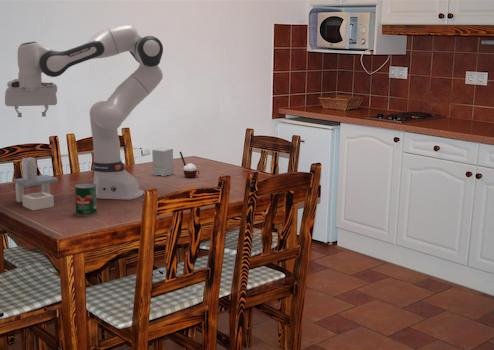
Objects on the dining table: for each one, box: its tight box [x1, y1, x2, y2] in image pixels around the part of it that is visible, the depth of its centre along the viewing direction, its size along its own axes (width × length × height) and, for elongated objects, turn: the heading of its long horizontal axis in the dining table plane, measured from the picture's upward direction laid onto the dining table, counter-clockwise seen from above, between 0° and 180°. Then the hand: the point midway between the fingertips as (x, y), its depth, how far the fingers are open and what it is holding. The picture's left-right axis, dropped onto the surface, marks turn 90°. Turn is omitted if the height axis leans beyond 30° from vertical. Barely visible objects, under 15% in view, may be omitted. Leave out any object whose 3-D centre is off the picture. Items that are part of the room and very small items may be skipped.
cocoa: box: [179, 151, 200, 178], centre depth 316 cm, size 10×6×12 cm, turn 57°
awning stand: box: [13, 174, 59, 211], centre depth 266 cm, size 18×15×9 cm
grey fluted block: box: [151, 147, 174, 177], centre depth 320 cm, size 7×7×13 cm
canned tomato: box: [74, 182, 98, 217], centre depth 252 cm, size 8×8×11 cm
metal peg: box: [21, 156, 38, 182], centre depth 265 cm, size 4×4×9 cm
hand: (32, 116), depth 270 cm, fingers open, 8 cm apart
